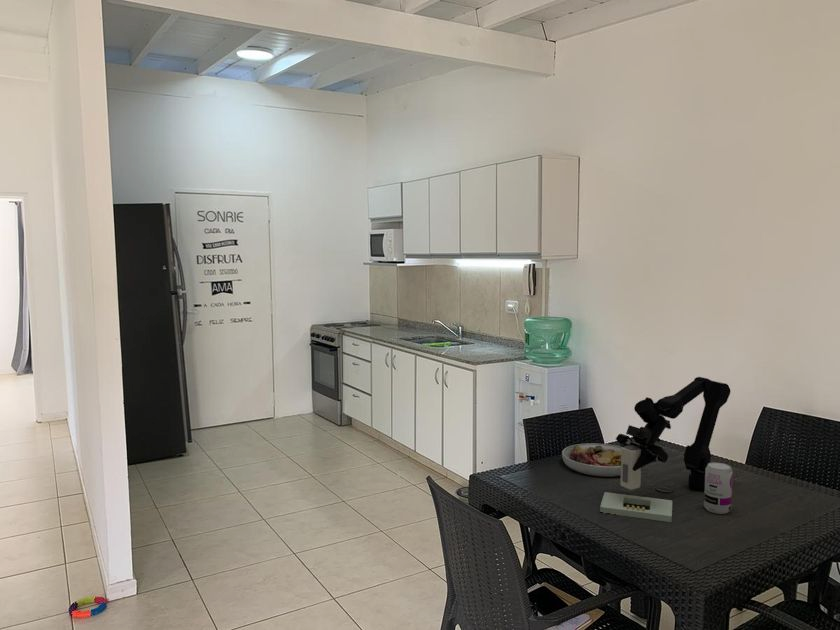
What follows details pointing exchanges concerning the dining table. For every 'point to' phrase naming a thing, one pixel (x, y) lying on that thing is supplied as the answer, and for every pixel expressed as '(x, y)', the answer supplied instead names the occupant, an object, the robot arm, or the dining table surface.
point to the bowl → (594, 459)
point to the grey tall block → (630, 467)
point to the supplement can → (718, 488)
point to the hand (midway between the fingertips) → (627, 467)
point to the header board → (657, 511)
